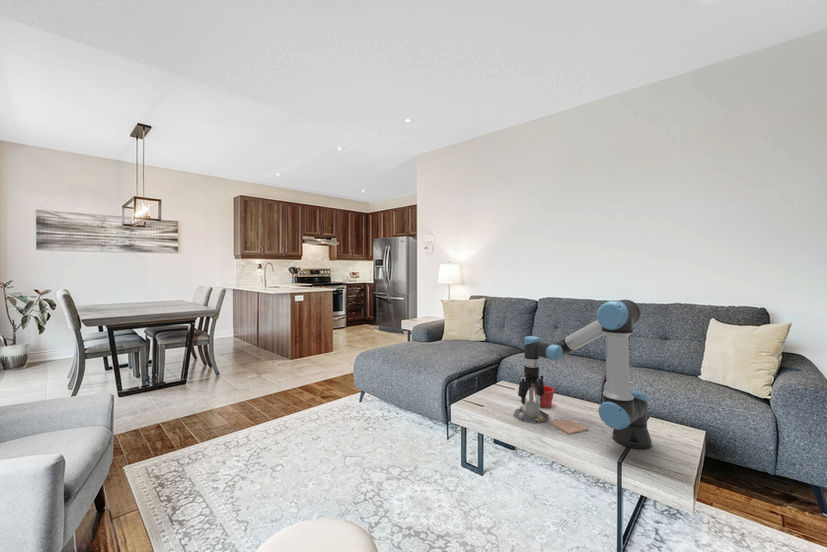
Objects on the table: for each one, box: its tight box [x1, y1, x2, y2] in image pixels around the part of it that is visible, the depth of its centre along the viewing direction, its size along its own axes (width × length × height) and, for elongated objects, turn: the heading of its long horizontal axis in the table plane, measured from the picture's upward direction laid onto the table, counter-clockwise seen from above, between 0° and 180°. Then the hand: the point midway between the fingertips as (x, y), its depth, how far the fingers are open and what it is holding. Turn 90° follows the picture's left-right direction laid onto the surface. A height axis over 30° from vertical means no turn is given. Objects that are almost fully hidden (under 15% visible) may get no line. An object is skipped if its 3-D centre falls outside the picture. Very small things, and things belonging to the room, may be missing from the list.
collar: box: [513, 405, 550, 425], centre depth 187 cm, size 17×17×2 cm
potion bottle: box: [522, 383, 541, 420], centre depth 187 cm, size 9×9×18 cm
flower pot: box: [533, 385, 555, 409], centre depth 203 cm, size 11×11×10 cm
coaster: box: [550, 418, 589, 435], centre depth 175 cm, size 12×12×1 cm
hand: (531, 408), depth 187 cm, fingers closed on potion bottle, 8 cm apart
